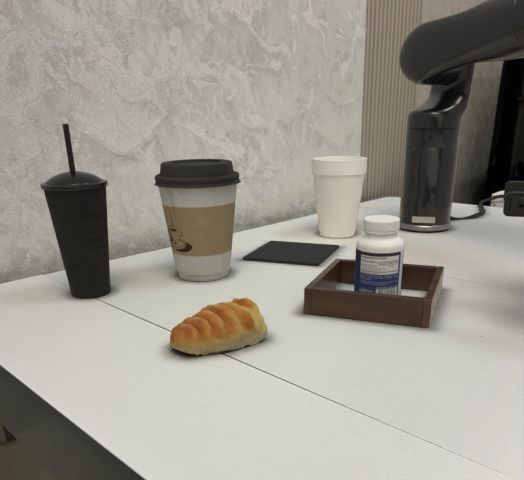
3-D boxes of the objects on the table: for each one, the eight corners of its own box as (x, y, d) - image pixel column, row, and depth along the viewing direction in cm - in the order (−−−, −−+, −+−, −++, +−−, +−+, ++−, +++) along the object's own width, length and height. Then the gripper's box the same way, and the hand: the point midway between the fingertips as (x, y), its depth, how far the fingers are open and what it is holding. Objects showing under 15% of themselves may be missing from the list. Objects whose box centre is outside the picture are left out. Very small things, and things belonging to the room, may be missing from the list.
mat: (271, 242, 94) (270, 240, 94) (339, 247, 90) (339, 245, 90) (242, 259, 84) (242, 257, 84) (318, 266, 80) (318, 263, 79)
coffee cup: (146, 276, 77) (134, 163, 71) (207, 259, 84) (200, 156, 78) (200, 291, 69) (191, 168, 63) (261, 272, 77) (258, 160, 71)
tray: (335, 280, 73) (336, 258, 72) (441, 289, 68) (444, 266, 67) (303, 313, 61) (304, 288, 60) (429, 328, 57) (432, 300, 55)
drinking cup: (102, 280, 75) (80, 122, 67) (133, 291, 70) (112, 122, 62) (49, 293, 70) (18, 125, 62) (77, 306, 65) (47, 125, 57)
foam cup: (316, 227, 104) (318, 155, 99) (365, 229, 102) (369, 155, 97) (306, 238, 96) (307, 160, 91) (359, 240, 94) (363, 160, 89)
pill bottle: (362, 291, 68) (367, 212, 64) (405, 297, 66) (413, 215, 62) (346, 304, 64) (350, 220, 60) (391, 311, 61) (398, 224, 57)
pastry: (193, 367, 49) (189, 327, 48) (156, 345, 54) (152, 308, 53) (273, 340, 55) (272, 303, 53) (233, 322, 59) (231, 288, 58)
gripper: (686, 153, 54) (509, 153, 60) (739, 167, 42) (510, 165, 48) (666, 229, 57) (498, 222, 63) (709, 262, 45) (498, 249, 51)
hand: (504, 197), depth 55 cm, fingers open, 8 cm apart
